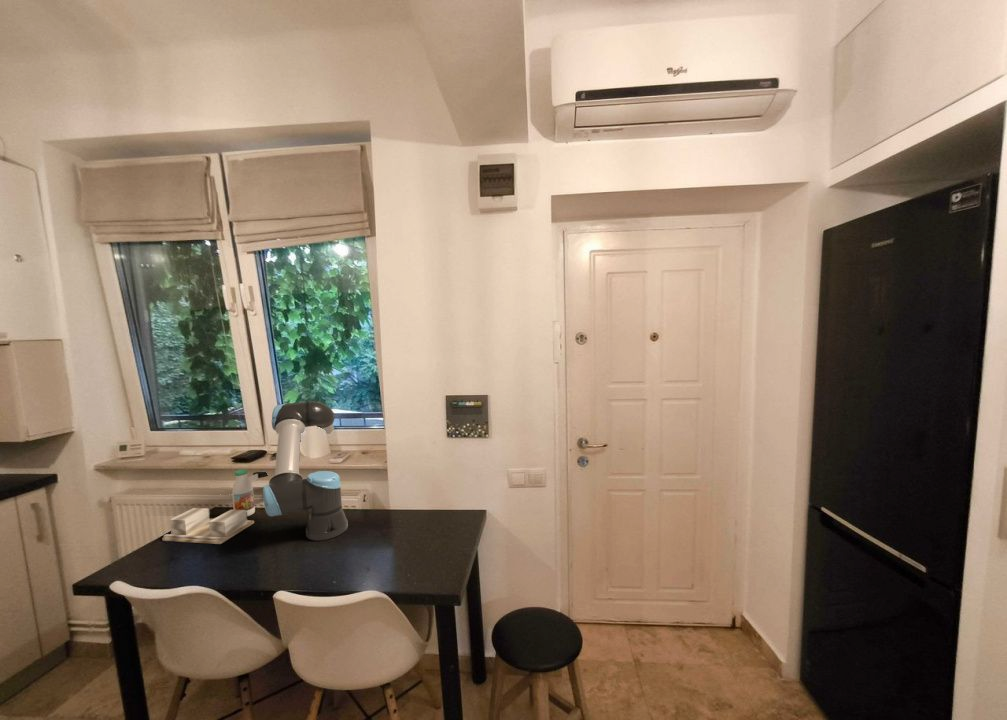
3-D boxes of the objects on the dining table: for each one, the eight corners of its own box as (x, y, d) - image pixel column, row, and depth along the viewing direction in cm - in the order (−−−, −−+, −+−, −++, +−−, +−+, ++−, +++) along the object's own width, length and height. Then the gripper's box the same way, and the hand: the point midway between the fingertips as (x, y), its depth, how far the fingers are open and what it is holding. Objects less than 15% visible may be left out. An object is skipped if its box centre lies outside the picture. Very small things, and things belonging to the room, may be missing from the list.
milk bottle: (229, 518, 163) (225, 473, 162) (244, 509, 171) (240, 467, 169) (244, 519, 162) (241, 474, 160) (259, 510, 169) (255, 467, 168)
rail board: (254, 522, 158) (252, 506, 158) (220, 544, 142) (218, 526, 142) (201, 520, 162) (199, 504, 162) (162, 540, 146) (160, 523, 146)
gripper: (313, 473, 194) (283, 490, 173) (270, 472, 198) (236, 489, 177) (312, 459, 193) (282, 475, 172) (269, 458, 197) (235, 473, 176)
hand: (258, 482), depth 175 cm, fingers open, 13 cm apart
